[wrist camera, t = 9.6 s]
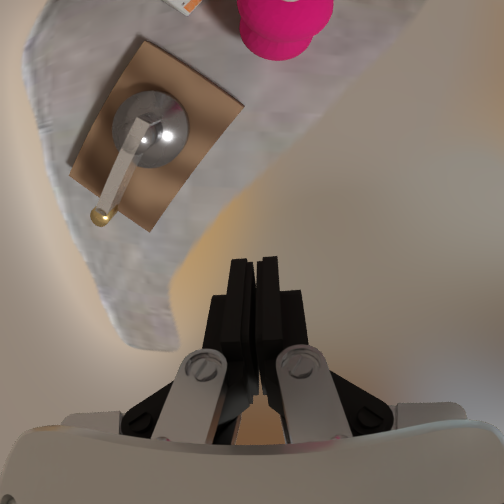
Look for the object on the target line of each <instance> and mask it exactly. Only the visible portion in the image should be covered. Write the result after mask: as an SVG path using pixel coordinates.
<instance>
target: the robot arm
mask: <svg viewBox="0 0 504 504" xmlns="http://www.w3.org/2000/svg"><path fill="white" fill-rule="evenodd" d="M259 371H260V377H261V384H262V390H263V395H267V397H268V404H269V406H270V407H271V408H272V409H274V410H275V411H276V412H278V413H279V414H280V419H281V424H282V429H283V434H284V438H285V444H278V445H235V443H236V438H237V435H238V430H239V426H240V422H241V415H242V412H243V411H244V410H246V409H247V408H248V407H249V406H250V404H253V395H259ZM0 504H504V435H503V433H502V432H501V431H500V430H499V429H498V428H497V427H495V426H494V425H491V424H489V423H486V422H482V421H477V420H468V419H467V415H466V412H465V410H464V409H463V408H462V407H461V406H460V405H458V404H457V403H453V402H438V403H398V404H397V406H388V405H387V404H386V403H384V402H383V401H381V400H380V399H378V398H376V397H374V396H373V395H371V394H369V393H367V392H366V391H364V390H362V389H361V388H359V387H357V386H355V385H354V384H352V383H350V382H349V381H347V380H345V379H344V378H342V377H340V376H339V375H337V374H335V373H333V372H332V371H330V370H329V368H328V365H327V362H326V360H325V357H324V356H323V354H322V353H321V352H320V351H319V350H318V349H317V348H315V347H312V346H310V345H308V337H307V329H306V322H305V315H304V309H303V301H302V294H301V290H291V291H280V288H279V275H278V259H277V256H273V257H263V261H258V262H257V283H255V276H254V267H253V262H247V259H246V258H245V259H232V260H231V266H230V273H229V280H228V287H227V294H226V295H213V296H212V299H211V305H210V310H209V315H208V320H207V326H206V331H205V336H204V342H203V347H202V349H200V350H196V351H194V352H192V353H190V354H189V355H187V356H186V357H185V358H184V360H183V361H182V363H181V365H180V367H179V370H178V372H177V375H176V377H175V379H174V381H172V382H171V383H170V384H168V385H166V386H165V387H163V388H162V389H160V390H159V391H157V392H156V393H154V394H153V395H151V396H150V397H148V398H147V399H145V400H143V401H142V402H140V403H139V404H137V405H136V406H134V407H133V408H131V409H130V410H129V411H127V412H126V413H121V412H120V411H113V412H98V413H76V414H71V415H69V416H67V417H66V418H65V419H64V420H63V421H62V423H61V425H51V426H50V425H49V426H42V427H37V428H33V429H30V430H28V431H26V432H24V433H23V434H21V435H20V436H19V438H18V439H17V440H16V441H15V443H14V445H13V447H12V449H11V451H10V453H9V455H8V457H7V459H6V462H5V464H4V467H3V470H2V473H1V476H0Z"/></svg>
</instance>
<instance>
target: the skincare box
mask: <svg viewBox="0 0 504 504" xmlns="http://www.w3.org/2000/svg"><path fill="white" fill-rule="evenodd" d="M162 1H164V2H165V3H167V4H168V5H170V6H171V7H173V8H174V9H176V10H178V11H179V12H181V13H182V14H184V15H185V16H189V14H190V13H191V12H192V11H193V10H194V9H195V8H196V7H197V6H198V5H199V4H200V3H201V2H202V1H203V0H162Z"/></svg>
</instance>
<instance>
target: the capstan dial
mask: <svg viewBox="0 0 504 504" xmlns="http://www.w3.org/2000/svg"><path fill="white" fill-rule="evenodd" d="M189 132H190V122H189V117H188V114H187V112H186V110H185V108H184V106H183V105H182V104H181V102H180V101H179V100H178V99H176V98H175V97H174V96H172V95H171V94H168V93H166V92H163V91H158V90H150V91H144V92H140V93H137V94H134V95H132V96H131V97H129V98H128V99H126V100H125V101H124V102H123V103H122V104H121V105H120V107H119V108H118V110H117V112H116V114H115V116H114V119H113V124H112V137H113V141H114V144H115V146H116V148H117V150H118V152H119V154H118V156H117V159H116V161H115V163H114V165H113V167H112V170H111V172H110V174H109V177H108V179H107V181H106V184H105V186H104V189H103V191H102V194H101V196H100V199H99V201H98V204H97V206H96V207H95V208H94V209H93V210H92V211H91V214H90V217H91V220H92V222H93V223H94V224H95V225H97V226H99V227H103V226H105V225H106V224H107V223H108V222H109V221H110V220H111V219H112V217H113V216H114V215H115V214H116V213H117V211H118V204H119V203H120V201H121V198H122V196H123V194H124V192H125V190H126V187H127V185H128V183H129V181H130V179H131V177H132V175H133V173H134V171H135V169H136V167H137V166H138V167H141V168H158V167H161V166H164V165H166V164H168V163H169V162H171V161H172V160H173V159H174V158H176V157H177V156H178V154H179V153H180V152H181V151H182V150H183V148H184V147H185V145H186V143H187V140H188V137H189Z"/></svg>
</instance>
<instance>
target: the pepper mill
mask: <svg viewBox="0 0 504 504" xmlns="http://www.w3.org/2000/svg"><path fill="white" fill-rule="evenodd" d="M237 6H238V11H239V13H240V16H241V20H240V28H239V30H240V35H241V38H242V40H243V42H244V44H245V45H246V47H247V48H248V49H249V50H250V51H251V52H253V53H254V54H256V55H257V56H259V57H262V58H264V59H268V60H274V61H282V60H288V59H291V58H294V57H296V56H298V55H299V54H301V53H302V52H303V51H304V50H305V49H306V48H307V47H308V46H309V44H310V42H311V40H312V38H313V36H314V35H316V34H318V33H319V32H320V31H321V30H322V29H323V28H324V27H325V26H326V24H327V23H328V21H329V19H330V17H331V15H332V12H333V0H237Z"/></svg>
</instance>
